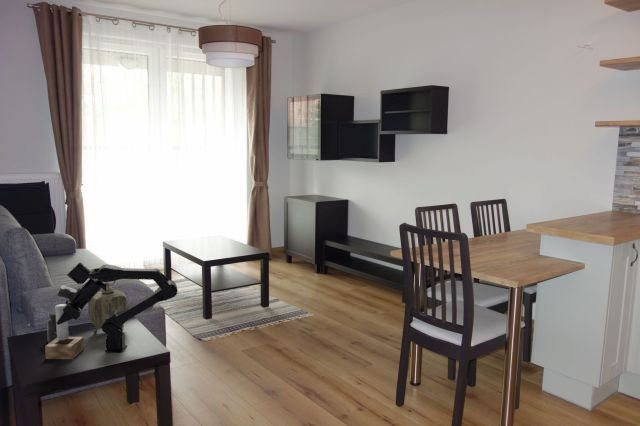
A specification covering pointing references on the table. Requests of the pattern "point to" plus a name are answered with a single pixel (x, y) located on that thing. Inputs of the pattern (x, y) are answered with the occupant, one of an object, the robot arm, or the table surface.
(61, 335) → the peg
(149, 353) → the table surface
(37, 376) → the table surface
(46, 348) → the socket block
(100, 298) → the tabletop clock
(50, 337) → the supplement bottle
